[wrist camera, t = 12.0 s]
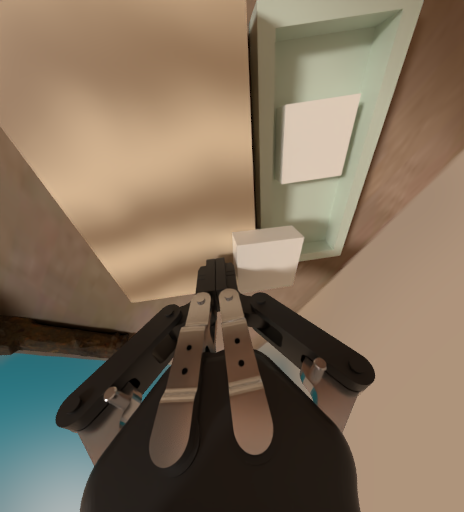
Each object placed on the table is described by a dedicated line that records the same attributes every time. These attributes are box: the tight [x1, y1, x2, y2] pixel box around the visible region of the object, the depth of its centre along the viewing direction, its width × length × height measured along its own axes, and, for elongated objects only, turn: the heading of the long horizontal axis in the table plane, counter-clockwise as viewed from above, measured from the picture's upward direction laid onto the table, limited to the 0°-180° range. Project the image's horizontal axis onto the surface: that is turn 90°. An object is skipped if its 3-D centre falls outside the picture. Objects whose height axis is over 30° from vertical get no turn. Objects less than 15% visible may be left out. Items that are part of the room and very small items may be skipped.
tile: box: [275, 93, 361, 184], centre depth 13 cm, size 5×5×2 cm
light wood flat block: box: [0, 0, 255, 303], centre depth 14 cm, size 18×13×5 cm
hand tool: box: [0, 316, 128, 358], centre depth 25 cm, size 19×4×5 cm, turn 61°
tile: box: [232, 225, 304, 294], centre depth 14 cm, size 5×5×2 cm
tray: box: [249, 0, 424, 262], centre depth 15 cm, size 18×9×2 cm, turn 7°
